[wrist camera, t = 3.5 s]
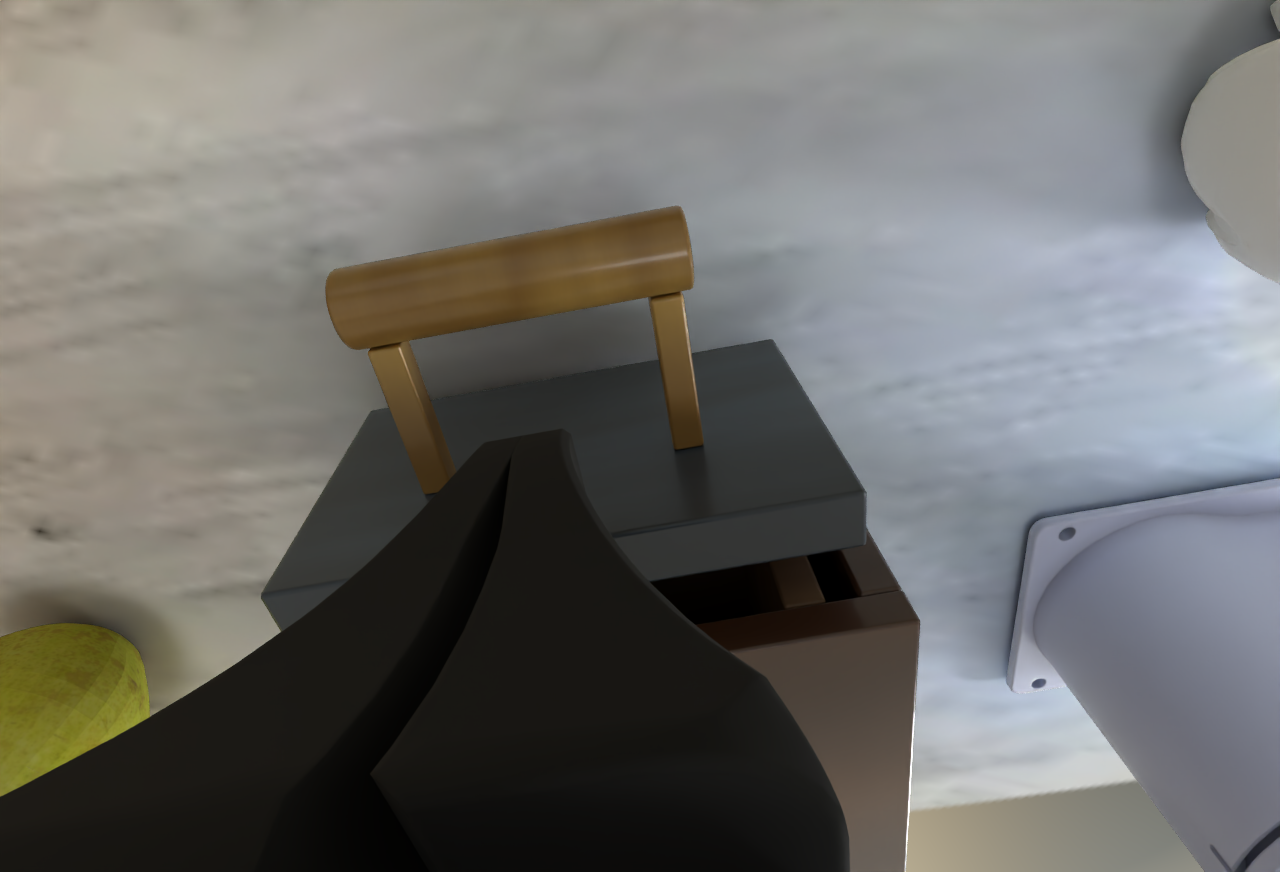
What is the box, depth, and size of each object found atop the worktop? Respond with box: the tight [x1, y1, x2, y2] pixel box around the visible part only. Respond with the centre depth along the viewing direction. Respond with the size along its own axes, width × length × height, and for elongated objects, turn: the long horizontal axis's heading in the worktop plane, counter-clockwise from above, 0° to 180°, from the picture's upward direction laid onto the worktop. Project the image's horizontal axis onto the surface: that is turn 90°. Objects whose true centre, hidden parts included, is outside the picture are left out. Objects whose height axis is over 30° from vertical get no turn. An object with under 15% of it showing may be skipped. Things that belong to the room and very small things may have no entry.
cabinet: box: [696, 528, 920, 872], centre depth 19 cm, size 14×12×9 cm
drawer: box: [261, 206, 866, 632], centre depth 16 cm, size 17×10×7 cm, turn 9°
